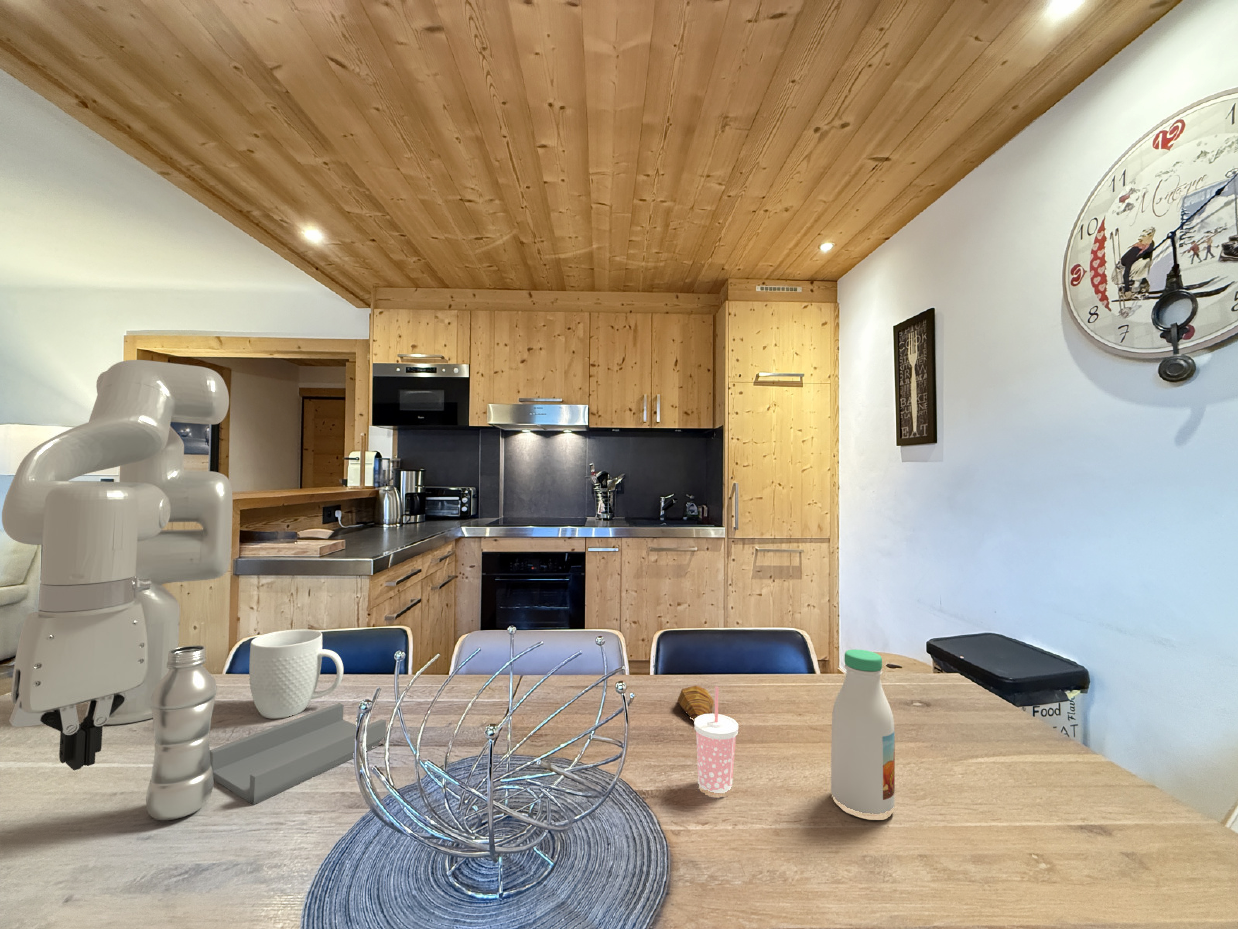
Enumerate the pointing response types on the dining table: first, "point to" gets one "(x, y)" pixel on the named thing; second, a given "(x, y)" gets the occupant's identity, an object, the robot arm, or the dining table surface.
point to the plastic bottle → (182, 736)
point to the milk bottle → (863, 738)
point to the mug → (288, 671)
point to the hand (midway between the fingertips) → (80, 763)
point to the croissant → (695, 701)
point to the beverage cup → (715, 749)
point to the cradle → (289, 753)
